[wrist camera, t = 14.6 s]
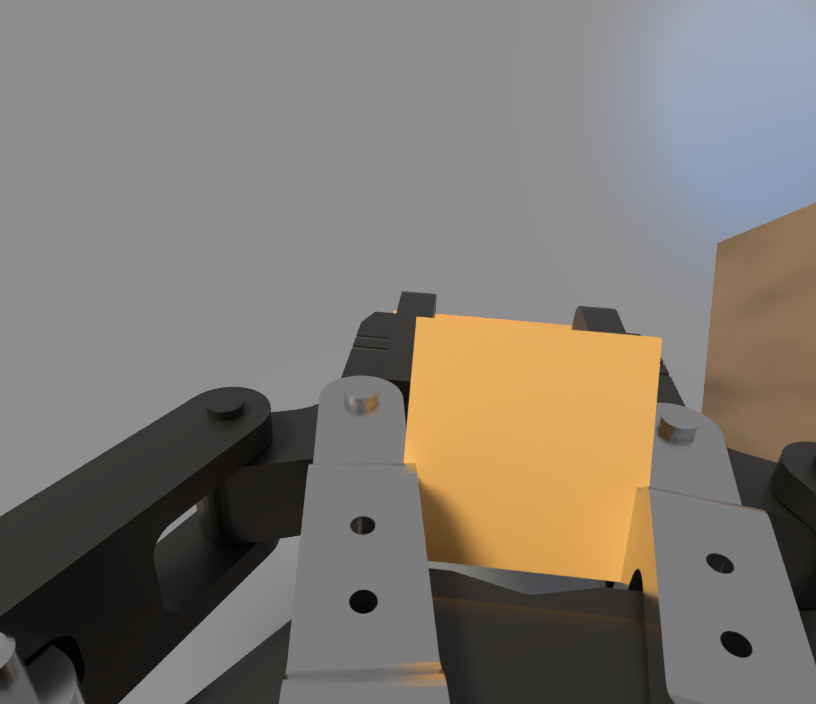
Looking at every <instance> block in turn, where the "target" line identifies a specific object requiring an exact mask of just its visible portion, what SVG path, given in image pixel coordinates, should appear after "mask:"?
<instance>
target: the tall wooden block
mask: <svg viewBox="0 0 816 704" xmlns="http://www.w3.org/2000/svg"><path fill="white" fill-rule="evenodd" d="M702 414H703V415H705V416H706V417H708V418H709V419H711V420H712V421H713V422H714V423H715V424H716V425H717V426H718V427H719V428H720V430H721V431H722V434H723V436H724V440H725V444H726V447H728V448H730V449H733V450H736V451H739V452H742V453H745V454H749V455H752V456H756V457H759V458H763V459H766V460H770V461H773V462H778V460H779V457H780V455H781V452H782V450H783V449H784V448H785V447H786V446H787V445H789V444H792V443H795V442H816V203H814V204H812V205H809V206H807V207H805V208H802V209H800V210H797V211H795V212H792V213H790V214H788V215H785V216H783V217H780V218H778V219H775V220H773V221H771V222H768V223H766V224H763V225H761V226H758V227H756V228H753V229H751V230H749V231H747V232H744V233H741V234H739V235H736V236H734V237H732V238H729V239H727V240H724V241H722V242H720V243H718V244H717V254H716V264H715V275H714V286H713V297H712V308H711V319H710V329H709V340H708V351H707V363H706V374H705V384H704V395H703V406H702Z"/></svg>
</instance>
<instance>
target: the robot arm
mask: <svg viewBox="0 0 816 704" xmlns="http://www.w3.org/2000/svg"><path fill="white" fill-rule="evenodd" d="M435 312H436V294H429V293H417V292H404V291H403V292H402V294H401V298H400V302H399V305H398V309H397V313H384V312H375V313H373V314H372V315H370V316H369V317H368V318H366V319H365V320H364V321H362V322H361V325H360V328H359V330H358V333H357V338H356V339H355V341H354V344H353V348H352V350H351V352H350V355H349V358H348V361H347V363H346V366H345V369H344V372H343V374H342V377H341V379H338V380H335V381H334V382H332V383H330V384H328V385H327V386H326V387H325V388H324V389H323V390H322V392H321V394H320V397H319V404H317V405H314V406H311V407H308V408H303V409H298V410H290V411H280V412H271V407H270V403H269V400H268V399H267V398H266V397H265V396H264V395H263V394H261V393H259V392H257V391H255V390H252V389H248V388H242V387H225V388H218V389H213V390H210V391H207V392H204V393H201V394H199V395H197V396H196V397H194V398H192V399H190V400H189V401H187V402H186V403H184V404H182V405H181V406H179V407H178V408H176V409H174V410H173V411H171V412H169V413H168V414H166V415H164V416H163V417H161V418H160V419H158V420H156V421H155V422H153V423H151V424H150V425H149V426H147V427H145V428H143V429H142V430H140V431H138V432H137V433H135V434H134V435H132V436H130V437H129V438H127V439H126V440H124V441H122V442H121V443H119V444H117V445H116V446H114V447H112V448H111V449H109V450H108V451H106V452H104V453H103V454H102V455H100V456H98V457H96V458H95V459H93V460H91V461H90V462H88V463H86V464H85V465H83V466H82V467H80V468H78V469H77V470H75V471H74V472H72V473H71V474H69V475H67V476H66V477H64V478H62V479H61V480H59V481H57V482H56V483H54V484H52V485H51V486H49V487H48V488H46V489H45V490H43V491H41V492H40V493H38V494H36V495H35V496H33V497H31V498H30V499H28V500H26V501H25V502H23V503H22V504H20V505H19V506H17V507H15V508H13V509H12V510H10V511H9V512H7V513H5V514H4V515H2V516H0V704H118V703H119V702H120V701H121V700H122V699H123V698H124V697H125V696H126V695H127V694H128V693H129V692H131V691H132V690H133V689H134V687H136V685H137V684H139V683H140V682H141V681H142V680H143V679H144V678H145V677H146V676H147V675H148V674H149V673H150V672H151V671H152V670H153V669H154V668H155V667H156V666H157V665H158V664H159V663H160V662H161V661H162V660H163V659H164V658H165V657H166V656H167V655H168V654H169V653H170V652H171V651H172V650H173V649H174V648H175V647H176V646H177V645H178V644H179V643H180V642H181V641H182V640H183V639H184V638H185V637H186V636H187V635H188V634H189V633H190V632H191V631H192V630H193V629H194V628H195V627H196V626H198V625H199V624H200V623H201V622H202V621H203V620H204V619H205V618H206V617H207V616H208V615H209V614H210V613H211V612H212V611H213V610H214V609H215V608H216V607H217V606H218V605H219V604H220V603H221V602H222V601H223V600H224V599H225V598H226V597H227V596H228V595H229V594H230V593H231V592H232V591H233V590H234V589H235V588H236V587H237V586H238V585H239V584H240V583H241V582H242V581H243V580H244V579H245V578H246V577H247V576H248V575H249V574H250V573H251V572H252V571H253V570H254V569H255V568H256V567H257V566H258V565H260V563H262V562H263V560H265V559H266V558H267V557H268V556H269V555H270V554H271V552H272V551H273V550H274V549H275V548H276V546H277V544H278V542H279V539H280V538H286V537H292V536H299V535H301V538H300V547H299V556H298V566H297V575H296V585H295V594H294V603H293V614H292V619H291V620H290V621H289V622H287V623H286V624H285V625H284V626H282V627H281V628H280V629H279V630H277V631H276V632H275V633H274V634H272V635H271V636H270V637H269V638H267V639H266V640H265V641H263V642H262V643H261V644H260V645H259V646H257V647H256V648H255V649H253V650H252V651H251V652H250V653H248V654H247V655H246V656H245V657H243V658H242V659H241V660H240V661H238V662H237V663H236V664H235V665H233V666H232V667H231V668H229V669H228V670H227V671H226V672H224V673H223V674H222V675H221V676H219V677H218V678H217V679H216V680H215V681H213V682H212V683H211V684H209V685H208V686H207V687H206V688H204V689H203V690H202V691H200V692H199V693H198V694H197V695H195V696H194V697H193V698H192V699H191V700H189V701H188V702H187V703H185V704H816V442H795V443H792V444H789V445H787V446H786V447H785V448H784V449H783V450H782V452H781V455H780V457H779V460H778V462H773V461H770V460H766V459H763V458H759V457H756V456H752V455H749V454H745V453H742V452H739V451H736V450H733V449H730V448H728V447H726V444H725V440H724V436H723V434H722V431H721V430H720V428H719V427H718V426H717V425H716V424H715V423H714V422H713V421H712V420H711V419H709V418H708V417H706V416H705V415H703V414H701V413H699V412H697V411H695V410H692V409H690V408H687V407H685V405H684V403H683V401H682V399H681V397H680V395H679V393H678V391H677V389H676V387H675V385H674V383H673V381H672V379H671V377H670V376H669V373H668V370H667V369H666V366H665V365H663V360H662V358H660V370H659V381H658V393H657V404H656V416H655V427H654V439H653V450H652V462H651V474H650V485H649V486H644V487H643V488H640V487H637V489H636V495H635V500H634V506H633V512H632V518H631V523H630V529H629V535H628V541H627V546H626V552H625V558H624V564H623V569H622V575H621V581H620V582H615V581H606V580H599V588H591V589H582V590H573V591H564V592H555V593H545V594H536V595H530V594H524V593H520V592H517V591H514V590H510V589H507V588H504V587H501V586H498V585H495V584H492V583H489V582H486V581H483V580H480V579H477V578H474V577H470V576H467V575H464V574H461V573H458V572H455V571H451V570H442V569H433V568H428V560H427V552H426V543H425V535H424V527H423V518H422V510H421V502H420V493H419V485H418V477H417V469H416V465H415V463H403V462H404V451H405V440H406V429H407V418H408V407H409V396H410V385H411V373H412V362H413V351H414V340H415V329H416V318H417V317H427V318H435ZM572 330H579V331H591V332H602V333H614V334H626V335H637V336H641V335H640V334H631V333H626V332H625V329H624V327H623V325H622V322H621V320H620V318H619V315H618V313H617V311H616V310H615V309H609V308H597V307H585V306H578V308H577V309H576V312H575V316H574V320H573V325H572ZM195 504H196V506H197V512H195V513H194V514H193V515H192V516H190V517H189V518H188V519H187V520H185V521H184V522H183V523H182V524H180V525H179V526H178V527H177V528H175V529H174V530H173V531H172V532H170V533H169V534H168V535H167V536H165V537H164V538H163V539H162V540H160V541H159V542H158V543H157V541H158V539H159V537H160V535H161V534H162V533H163V531H164V530H165V529H166V528H167V527H168V526H169V525H170V524H171V523H172V522H174V521H175V520H176V519H177V518H179V517H180V516H181V515H182V514H184V513H185V512H186V511H188V510H189V509H190V508H191V507H192V506H194V505H195ZM156 543H157V544H156Z"/></svg>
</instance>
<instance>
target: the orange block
mask: <svg viewBox="0 0 816 704" xmlns="http://www.w3.org/2000/svg"><path fill="white" fill-rule="evenodd" d="M394 313H397V310H394ZM661 346H662V338H661V337H649V336H637V335H626V334H614V333H602V332H591V331H579V330H572V325H562V324H561V325H560V324H550V323H537V322H526V321H515V320H503V319H491V318H479V317H468V316H456V315H444V314H435V318H427V317H417V318H416V329H415V340H414V351H413V362H412V373H411V385H410V396H409V407H408V418H407V429H406V440H405V451H404V462H403V463H415V465H416V469H417V477H418V485H419V493H420V502H421V510H422V518H423V527H424V535H425V543H426V552H427V560H428V561H434V562H443V563H452V564H462V565H471V566H480V567H489V568H498V569H507V570H516V571H525V572H534V573H543V574H552V575H561V576H570V577H579V578H588V579H597V580H606V581H615V582H620V581H621V575H622V569H623V564H624V558H625V552H626V546H627V541H628V535H629V529H630V523H631V518H632V512H633V506H634V500H635V495H636V489H637V487H640V488H643V487H644V486H649V485H650V474H651V462H652V450H653V439H654V427H655V416H656V404H657V393H658V381H659V370H660V358H661Z"/></svg>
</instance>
